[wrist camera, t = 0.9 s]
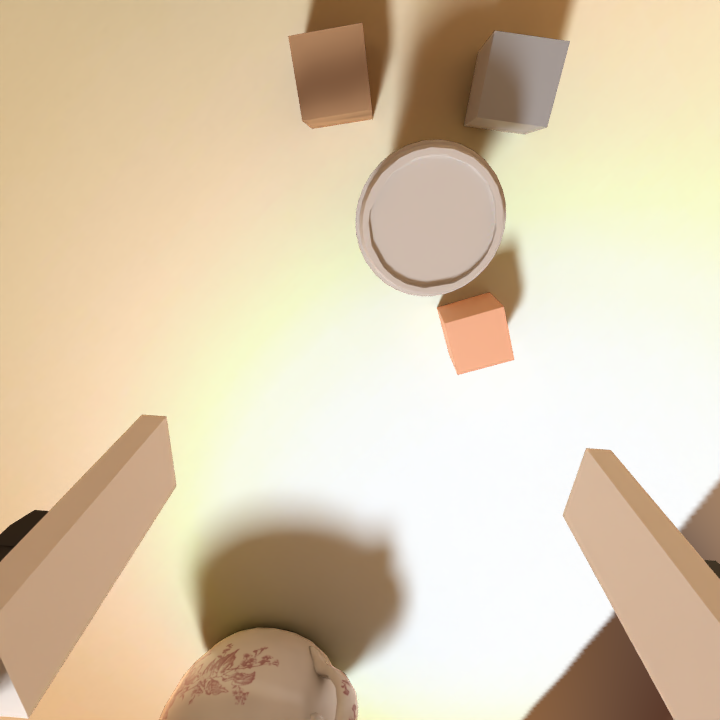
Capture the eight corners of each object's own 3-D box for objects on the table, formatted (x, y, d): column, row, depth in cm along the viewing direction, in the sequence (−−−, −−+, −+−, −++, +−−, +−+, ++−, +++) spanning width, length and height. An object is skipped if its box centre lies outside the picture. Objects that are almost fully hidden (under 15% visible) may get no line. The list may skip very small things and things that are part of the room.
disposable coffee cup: (440, 127, 34) (470, 101, 23) (488, 231, 37) (535, 253, 26) (340, 191, 36) (325, 196, 25) (394, 285, 39) (401, 326, 28)
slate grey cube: (477, 52, 32) (494, 30, 27) (542, 61, 32) (569, 41, 28) (463, 126, 34) (477, 117, 29) (524, 134, 34) (547, 127, 30)
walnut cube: (301, 56, 33) (288, 36, 28) (364, 45, 32) (362, 22, 28) (312, 128, 35) (302, 120, 30) (372, 119, 34) (371, 109, 29)
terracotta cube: (436, 307, 40) (444, 323, 35) (489, 291, 39) (503, 306, 35) (448, 353, 42) (457, 374, 37) (498, 339, 41) (514, 359, 36)
